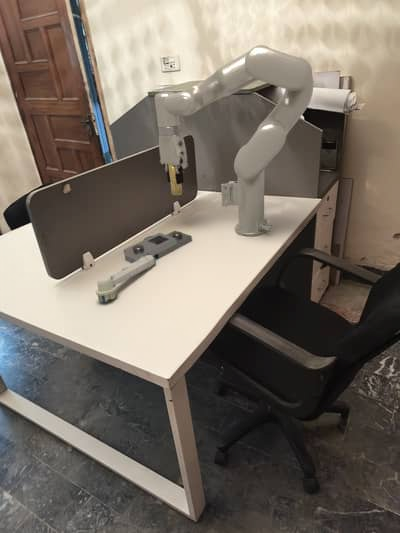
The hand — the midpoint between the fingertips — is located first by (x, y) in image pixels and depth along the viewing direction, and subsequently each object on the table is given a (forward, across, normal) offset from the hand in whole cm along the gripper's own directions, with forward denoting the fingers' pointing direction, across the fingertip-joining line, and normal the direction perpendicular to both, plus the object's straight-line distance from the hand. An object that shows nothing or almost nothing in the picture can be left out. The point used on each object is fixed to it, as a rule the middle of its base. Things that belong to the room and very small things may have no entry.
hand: (175, 181), depth 137 cm
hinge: (+19, -2, -33) cm, 38 cm away
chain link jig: (+19, -7, +17) cm, 27 cm away
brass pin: (+4, 0, 0) cm, 4 cm away
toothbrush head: (+19, -16, +38) cm, 45 cm away
